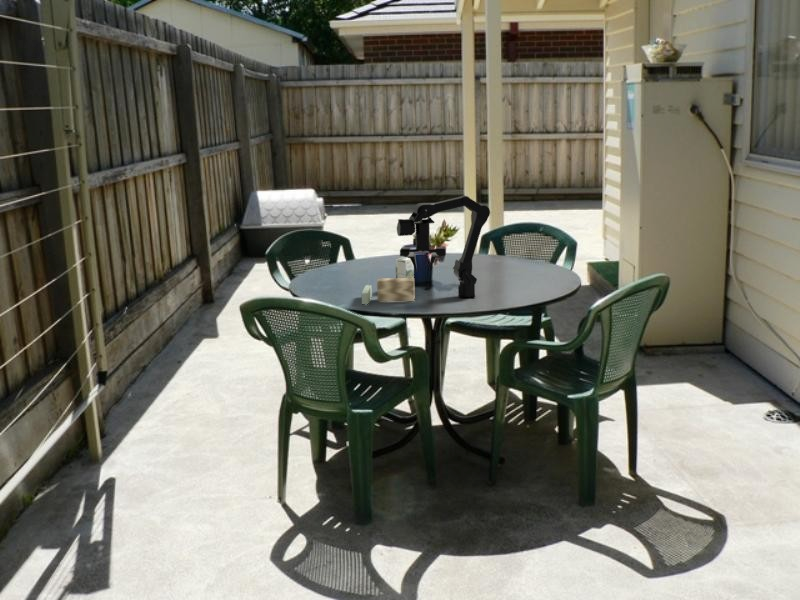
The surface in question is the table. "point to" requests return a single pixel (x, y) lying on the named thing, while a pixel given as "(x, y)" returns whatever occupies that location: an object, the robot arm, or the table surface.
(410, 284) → the beech block
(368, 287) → the sage batten
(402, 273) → the syrup box
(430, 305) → the table surface
